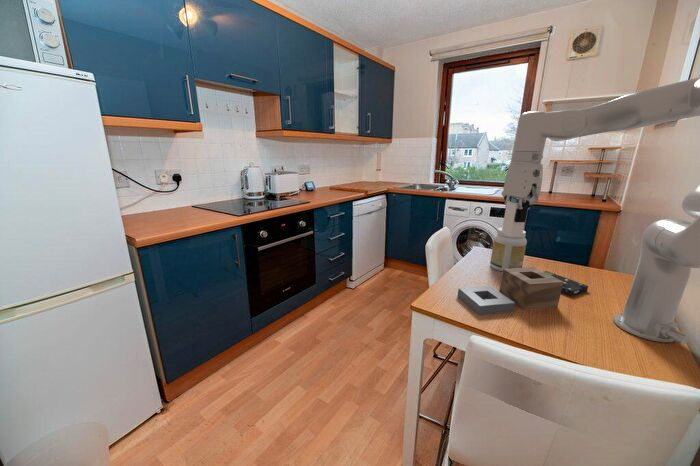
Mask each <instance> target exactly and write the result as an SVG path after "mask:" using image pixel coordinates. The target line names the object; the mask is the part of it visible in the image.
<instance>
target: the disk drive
mask: <svg viewBox="0 0 700 466" xmlns="http://www.w3.org/2000/svg"><path fill="white" fill-rule="evenodd" d="M544 272H545V273H547V274H549V275H551V276H553V277H555V278H557V279H559V280H561V281H563V287H562V291H561V295H562V294H563V295H565V296H568V297H570V298H571V297H575V296H577V295H581V294H584V293H585V292H586V293H587V291H588V289H589V286H588V285H586V284H584V283H581V282H579V281H575V280H573V279H569V278H568V277H565V276H561V275H558V274H556V273H553V272H550V271H549V270H548V271H547V270H546V271H544Z"/></svg>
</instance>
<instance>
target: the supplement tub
mask: <svg viewBox="0 0 700 466" xmlns="http://www.w3.org/2000/svg"><path fill="white" fill-rule="evenodd" d="M502 228H503V226H502V227H498V228H497V231H496V234H495V235H494V236H493V243H492V249H491V256H490V262H489V264H490V266H491V268H493V269H494V270H497V271H500V272H503V269H511V268H523V265H524V264H523V263H524V259H525V254H526V248H527V243H528V240H527V239H526V236H527V235H526V233H527V231H525V230H524V229H523V234H522V236H508V235H506V234H503V233H502Z"/></svg>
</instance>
